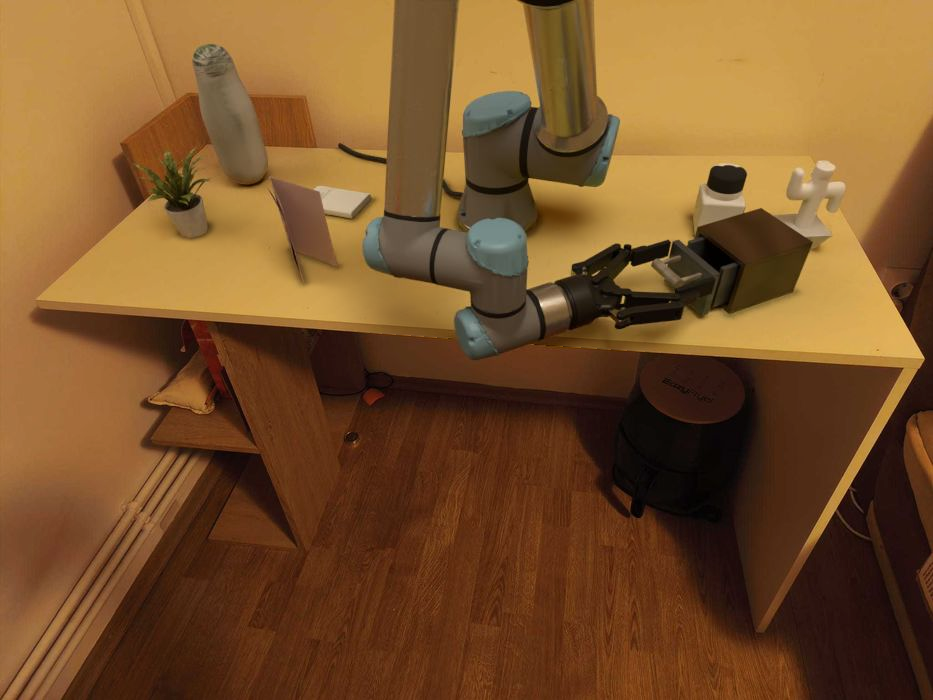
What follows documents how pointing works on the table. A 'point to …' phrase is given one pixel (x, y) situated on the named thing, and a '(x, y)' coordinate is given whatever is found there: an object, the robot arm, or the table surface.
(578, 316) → the robot arm
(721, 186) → the medicine bottle
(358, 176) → the table surface
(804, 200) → the figurine
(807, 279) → the table surface
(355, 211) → the hard drive
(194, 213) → the house plant
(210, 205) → the table surface
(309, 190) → the greeting card
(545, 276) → the table surface
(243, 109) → the grey bottle
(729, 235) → the cabinet
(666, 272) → the grey pull-out drawer
